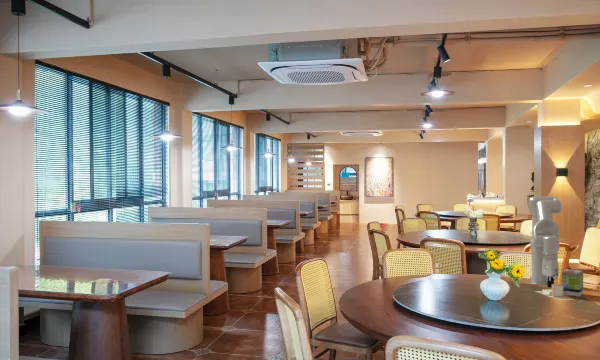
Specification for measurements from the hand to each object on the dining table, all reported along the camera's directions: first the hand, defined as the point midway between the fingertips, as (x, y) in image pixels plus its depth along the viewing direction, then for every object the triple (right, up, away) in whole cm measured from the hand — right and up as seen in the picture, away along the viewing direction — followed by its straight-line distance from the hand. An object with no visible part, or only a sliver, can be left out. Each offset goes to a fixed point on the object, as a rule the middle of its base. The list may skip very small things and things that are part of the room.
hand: (550, 287), depth 275 cm
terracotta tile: (+1, -4, -7) cm, 8 cm away
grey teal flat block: (0, -3, +3) cm, 5 cm away
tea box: (+15, -6, +3) cm, 16 cm away
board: (0, -5, -4) cm, 6 cm away
